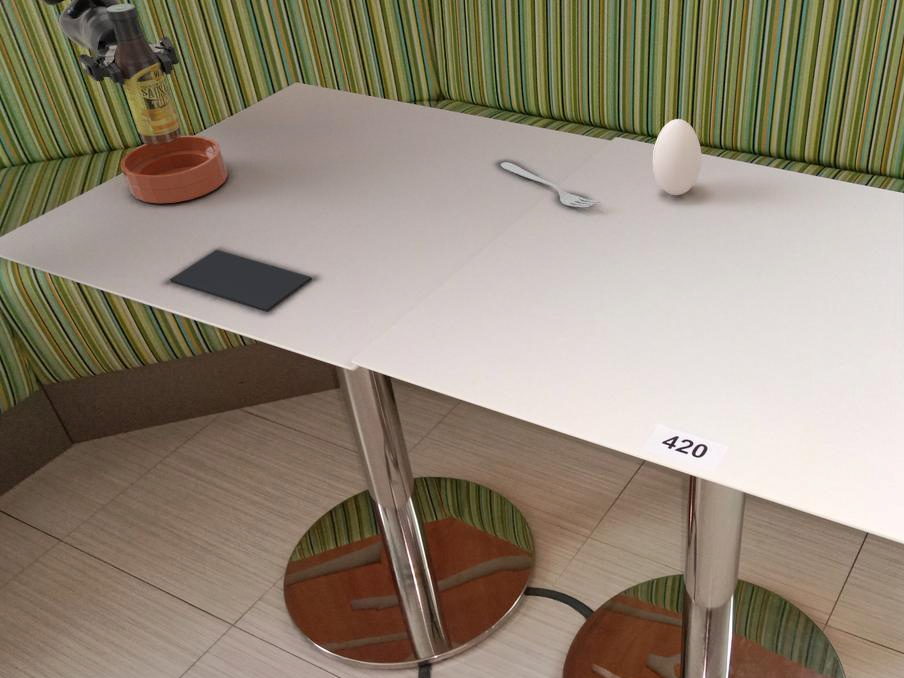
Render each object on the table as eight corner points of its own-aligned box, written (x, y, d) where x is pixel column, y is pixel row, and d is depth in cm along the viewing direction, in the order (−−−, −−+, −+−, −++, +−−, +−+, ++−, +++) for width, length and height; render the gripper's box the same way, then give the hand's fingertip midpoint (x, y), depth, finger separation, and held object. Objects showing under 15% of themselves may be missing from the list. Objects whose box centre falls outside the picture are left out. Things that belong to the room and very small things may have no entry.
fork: (510, 160, 161) (509, 150, 160) (603, 211, 147) (603, 200, 146) (494, 166, 160) (493, 156, 159) (587, 218, 146) (587, 207, 145)
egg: (709, 195, 150) (713, 121, 142) (671, 209, 147) (672, 134, 139) (681, 178, 154) (682, 105, 147) (643, 191, 152) (642, 118, 144)
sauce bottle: (164, 150, 151) (117, 17, 137) (133, 144, 153) (84, 12, 139) (192, 133, 155) (150, 3, 142) (162, 127, 157) (118, -2, 144)
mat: (170, 282, 136) (169, 279, 136) (217, 252, 142) (216, 249, 141) (267, 312, 129) (266, 309, 129) (312, 279, 135) (311, 276, 135)
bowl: (132, 213, 152) (120, 183, 149) (132, 173, 163) (121, 145, 159) (231, 195, 156) (222, 165, 152) (225, 157, 166) (216, 129, 163)
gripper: (59, 27, 150) (85, 58, 140) (153, 9, 156) (184, 36, 145) (78, 76, 155) (103, 109, 144) (168, 56, 161) (199, 86, 150)
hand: (144, 72), depth 145 cm, fingers closed on sauce bottle, 6 cm apart
